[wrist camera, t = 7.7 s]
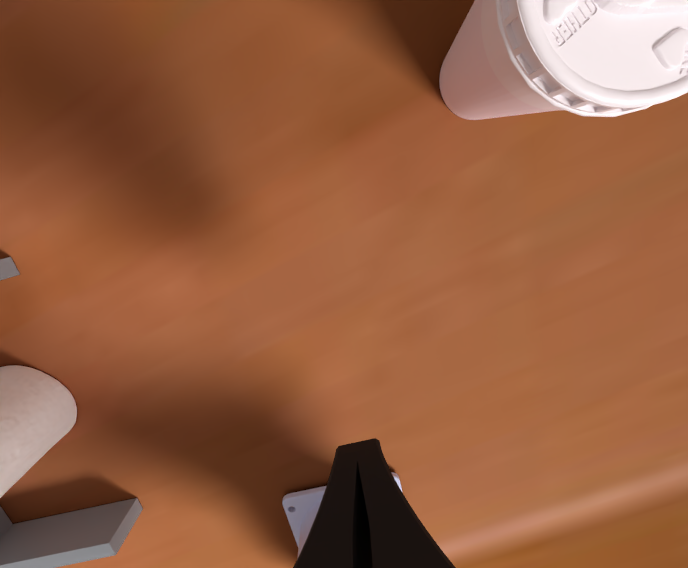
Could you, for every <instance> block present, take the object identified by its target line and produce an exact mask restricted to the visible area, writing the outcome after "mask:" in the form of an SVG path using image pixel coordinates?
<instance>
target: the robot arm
mask: <svg viewBox="0 0 688 568" xmlns="http://www.w3.org/2000/svg"><path fill="white" fill-rule="evenodd" d="M282 504H283V507H284V510H285V513H286V516H287V518H288V521H289V524H290V527H291V529H292V532H293V535H294V537H295V540H296V543H297V546H298V559H297V561H296V563H295V565H294V567H293V568H455V566H454V565H453V564H452V563H451V562H450V560H449V559H448V558H447V556H446V555H445V554H444V553H443V551H442V550H441V549H440V548H439V546H438V545H437V544H436V542H435V541H434V540H433V538H432V537H431V535H430V534H429V533H428V531H427V530H426V529H425V527H424V526H423V524H422V523H421V521H420V520H419V518H418V517H417V515H416V514H415V512H414V511H413V509H412V508H411V506H410V505H409V503H408V501H407V500H406V498H405V496H404V495H403V493H402V489H401V484H400V480H399V476H398V475H397V474H396V473H393V472H391V471H390V469H389V467H388V465H387V463H386V460H385V458H384V456H383V453H382V450H381V446H380V442H379V440H377V439H370V440H365V441H360V442H356V443H351V444H346V445H341V446H338V448H337V449H336V453H335V458H334V462H333V466H332V470H331V473H330V476H329V480H328V483H327V486H323V487H318V488H313V489H309V490H304V491H299V492H294V493H289V494H286V495H285V496H284V497H283V501H282Z"/></svg>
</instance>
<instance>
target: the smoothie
mask: <svg viewBox="0 0 688 568" xmlns="http://www.w3.org/2000/svg"><path fill="white" fill-rule="evenodd" d="M439 84H440V91H441V95H442V98H443V100H444V102H445V104H446V105H447V107H448V108H449V109H450V110H451V111H452V112H453V113H454V114H456V115H457V116H459V117H461V118H464V119H468V120H479V119H488V118H496V117H505V116H513V115H522V114H530V113H539V112H547V111H556V110H566V111H569V112H572V113H575V114H578V115H581V116H599V117H615V116H619V115H623V114H627V113H631V112H634V111H638V110H642V109H646V108H648V107H650V106H652V105H654V104H658V103H662V102H665V101H668V100H671V99H674V98H676V97H679V96H681V95H683V94H685V93H687V92H688V0H475V1H474V3H473V5H472V7H471V9H470V11H469V12H468V14H467V16H466V18H465V20H464V22H463V24H462V26H461V28H460V30H459V32H458V34H457V36H456V38H455V40H454V42H453V43H452V45H451V47H450V49H449V51H448V53H447V55H446V57H445V59H444V61H443V64H442V67H441V71H440V78H439Z"/></svg>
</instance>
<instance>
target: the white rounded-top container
mask: <svg viewBox="0 0 688 568" xmlns="http://www.w3.org/2000/svg"><path fill="white" fill-rule="evenodd" d="M76 417H77V407H76V403H75V400H74V398H73V396H72V394H71V393H70V391H69V390H68V389H67V388H66V387H65V386H64V385H62V384H61V383H60V382H59V381H58V380H56V379H54V378H53V377H51V376H49V375H47V374H45V373H43V372H41V371H39V370H36V369H34V368H30V367H26V366H20V365H11V366H4V367H0V498H1V497H2V496H3V495H4V494H5V493H6V492H7V491H8V490H9V489H10V488H11V487H12V486H13V485H14V484H15V483H16V482H17V481H18V480H19V479H20V478H21V477H22V476H23V475H24V474H25V473H26V472H27V471H28V470H29V469H30V468H31V467H32V466H33V465H34V464H35V463H36V462H37V461H38V460H39V459H40V458H41V457H43V456H44V455H45V453H46V452H47V451H48V450H49V449H51V448H52V447H53V446H54V445H55V444H56V443H57V442H58V441H59V440H60V439H62V438H63V437H64V436H65V435H66V434H67V433H68V432H69V431H70V430H71V429H72V427H73V426H74V424H75V423H76Z"/></svg>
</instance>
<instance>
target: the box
mask: <svg viewBox="0 0 688 568" xmlns="http://www.w3.org/2000/svg"><path fill="white" fill-rule="evenodd" d="M17 275H20V273H19V272H18V270H17V268H16V266H15V264H14V262H13V260H12V258H11V257H8V258H4V259H0V280H3V279H7V278H10V277H13V276H17ZM142 510H143V508H142V506H141V504H140V503H139V501H138V499H137V498H134V499H129V500H125V501H120V502H115V503H110V504H106V505H101V506H96V507H91V508H87V509H82V510H77V511H73V512H68V513H63V514H58V515H54V516H49V517H44V518H39V519H35V520H30V521H25V522H20V523H16V524H12V522H11V521H10V519H9V518H8V516H7V515H6V513H5V512H4V510H3V509H2V508H1V506H0V568H55V567H60V566H65V565H70V564H74V563H79V562H84V561H89V560H94V559H99V558H104V557H109V556H113V555H116V554H117V552H118V551H119V549H120V547H121V546H122V544H123V542H124V540H125V539H126V537H127V535H128V534H129V532H130V530H131V528H132V527H133V525H134V523H135V522H136V520H137V518H138V516H139V515H140V513H141V511H142Z"/></svg>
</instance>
